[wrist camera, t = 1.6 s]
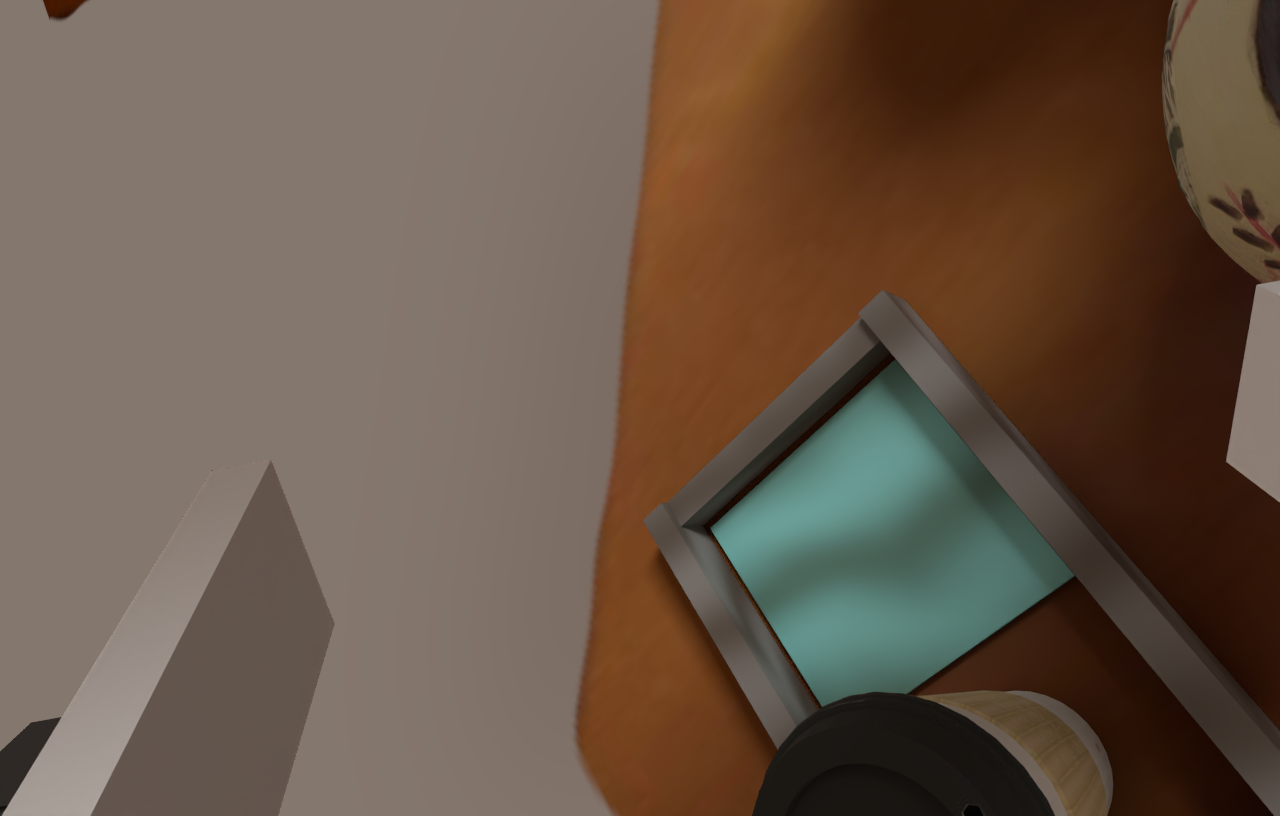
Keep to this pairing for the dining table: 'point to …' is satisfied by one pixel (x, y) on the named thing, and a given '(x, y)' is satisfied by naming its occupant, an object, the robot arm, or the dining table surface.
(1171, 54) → the ceramic jug
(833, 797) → the coffee cup
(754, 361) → the dining table surface
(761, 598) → the bay
